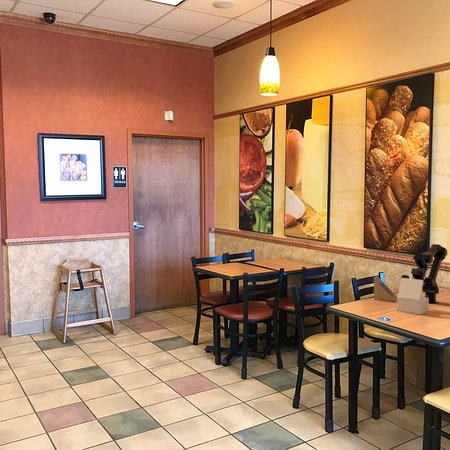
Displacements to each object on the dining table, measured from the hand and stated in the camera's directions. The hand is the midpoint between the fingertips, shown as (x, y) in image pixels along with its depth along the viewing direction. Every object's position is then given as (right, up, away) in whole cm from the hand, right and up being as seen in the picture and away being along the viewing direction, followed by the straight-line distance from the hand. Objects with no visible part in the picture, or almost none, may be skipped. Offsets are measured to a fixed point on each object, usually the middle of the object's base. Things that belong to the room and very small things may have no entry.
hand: (413, 292), depth 290 cm
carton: (-1, -11, 0) cm, 11 cm away
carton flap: (-3, +2, -4) cm, 5 cm away
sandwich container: (-6, -10, +30) cm, 32 cm away
